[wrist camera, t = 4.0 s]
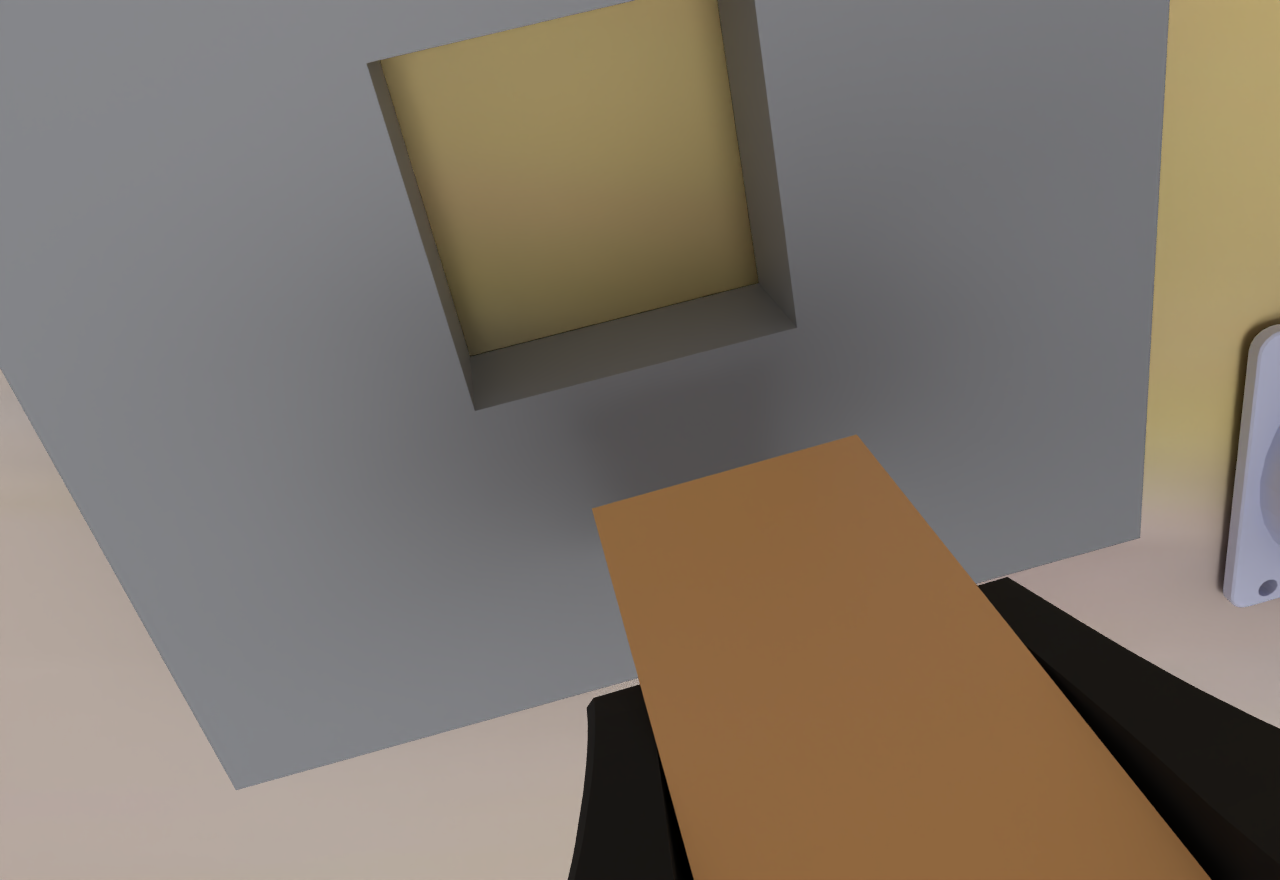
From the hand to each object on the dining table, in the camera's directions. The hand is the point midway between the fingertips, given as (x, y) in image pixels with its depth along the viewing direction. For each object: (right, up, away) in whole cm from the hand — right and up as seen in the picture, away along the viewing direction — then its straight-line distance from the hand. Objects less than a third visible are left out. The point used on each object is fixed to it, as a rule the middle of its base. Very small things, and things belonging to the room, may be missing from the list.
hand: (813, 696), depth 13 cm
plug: (-1, +1, +3) cm, 3 cm away
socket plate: (-3, +8, +7) cm, 11 cm away
